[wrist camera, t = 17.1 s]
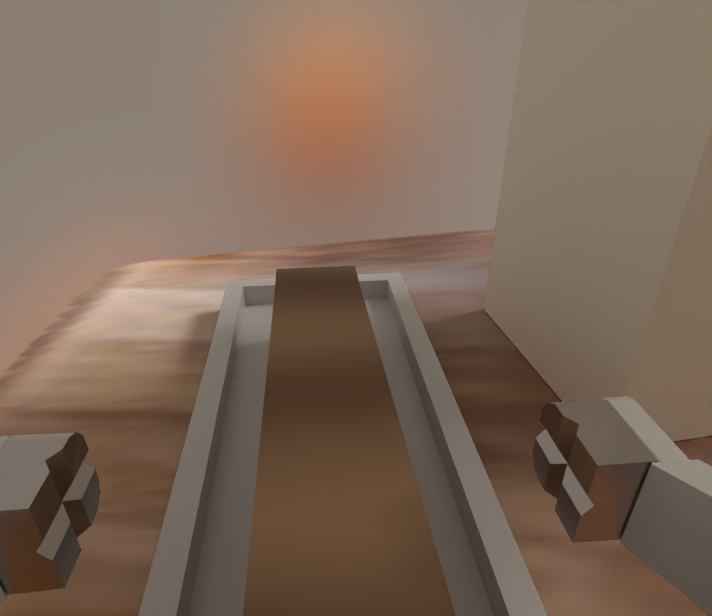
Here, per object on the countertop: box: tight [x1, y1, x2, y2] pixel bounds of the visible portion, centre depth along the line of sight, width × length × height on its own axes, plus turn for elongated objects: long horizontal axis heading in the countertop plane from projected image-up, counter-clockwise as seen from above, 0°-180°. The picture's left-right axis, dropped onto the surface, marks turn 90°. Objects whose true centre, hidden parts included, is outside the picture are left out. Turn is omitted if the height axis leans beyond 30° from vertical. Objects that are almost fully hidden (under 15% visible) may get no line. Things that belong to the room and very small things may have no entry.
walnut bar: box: [243, 266, 456, 616], centre depth 13 cm, size 18×3×3 cm, turn 6°
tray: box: [138, 272, 548, 616], centre depth 16 cm, size 22×9×2 cm, turn 6°
